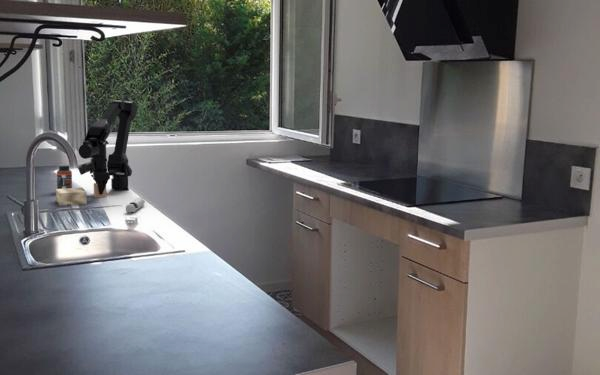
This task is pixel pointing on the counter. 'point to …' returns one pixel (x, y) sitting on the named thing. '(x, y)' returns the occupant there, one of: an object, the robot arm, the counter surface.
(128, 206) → the torpedo
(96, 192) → the terracotta cube
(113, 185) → the robot arm
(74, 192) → the beech block
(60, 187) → the supplement bottle
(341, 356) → the counter surface
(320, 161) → the counter surface
